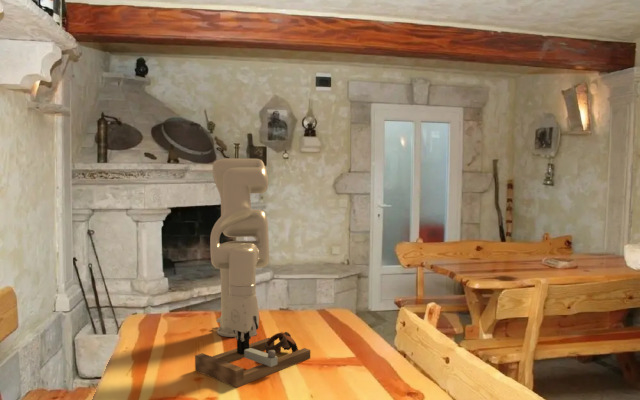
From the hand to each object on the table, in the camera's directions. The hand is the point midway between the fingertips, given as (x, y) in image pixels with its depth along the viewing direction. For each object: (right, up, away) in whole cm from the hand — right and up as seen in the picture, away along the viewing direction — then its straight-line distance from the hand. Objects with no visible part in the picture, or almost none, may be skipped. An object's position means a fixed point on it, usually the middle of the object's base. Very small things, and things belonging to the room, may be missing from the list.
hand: (243, 353), depth 152 cm
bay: (+4, -3, +1) cm, 5 cm away
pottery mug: (+11, -3, +7) cm, 14 cm away
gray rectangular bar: (+5, -1, -5) cm, 7 cm away
